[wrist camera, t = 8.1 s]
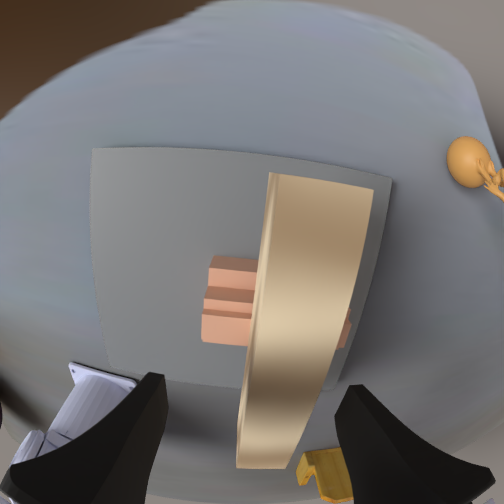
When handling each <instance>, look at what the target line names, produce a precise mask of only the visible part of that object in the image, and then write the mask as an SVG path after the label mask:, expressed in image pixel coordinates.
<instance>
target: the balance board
mask: <svg viewBox="0 0 504 504" xmlns="http://www.w3.org/2000/svg"><path fill="white" fill-rule="evenodd" d="M269 172H271V173H279V174H287V175H294V176H301V177H307V178H314V179H320V180H326V181H332V182H337V183H343V184H348V185H353V186H358V187H363V188H368V189H372V190H374V192H373V199H372V205H371V211H370V217H369V222H368V227H367V232H366V237H365V242H364V247H363V252H362V256H361V261H360V265H359V269H358V273H357V277H356V281H355V285H354V289H353V293H352V297H351V300H350V304H349V307H348V311H347V314H346V318H345V321H344V324H343V328H342V331H341V334H340V337H339V340H338V343H337V346H336V349H335V352H334V355H333V358H332V361H331V364H330V367H329V370H328V372H327V375H326V378H325V380H324V383H323V386H322V388H321V391H326V390H334V389H335V386H336V384H337V381H338V379H339V377H340V374H341V372H342V369H343V366H344V364H345V361H346V359H347V356H348V353H349V351H350V348H351V345H352V342H353V339H354V337H355V334H356V331H357V328H358V325H359V322H360V319H361V315H362V312H363V309H364V306H365V302H366V299H367V296H368V292H369V289H370V285H371V281H372V278H373V274H374V270H375V266H376V262H377V258H378V254H379V249H380V245H381V240H382V236H383V231H384V226H385V221H386V215H387V210H388V204H389V198H390V192H391V185H392V178H389V177H385V176H380V175H376V174H372V173H368V172H363V171H359V170H354V169H349V168H344V167H339V166H334V165H329V164H324V163H318V162H312V161H306V160H300V159H293V158H286V157H279V156H272V155H264V154H255V153H246V152H236V151H224V150H211V149H194V148H168V147H120V148H95V149H92V157H91V173H90V238H91V254H92V266H93V276H94V285H95V293H96V300H97V307H98V313H99V319H100V324H101V330H102V335H103V339H104V344H105V349H106V353H107V357H108V361H109V365H110V367H112V368H116V369H120V370H124V371H128V372H133V373H137V374H142V375H146V374H147V373H148V372H154V373H159V374H164V375H165V379H167V380H173V381H179V382H185V383H192V384H199V385H207V386H216V387H226V388H237V389H242V385H243V378H244V370H245V363H246V355H247V348H248V340H249V332H250V325H251V317H252V309H253V301H254V293H255V285H256V278H257V270H258V262H259V254H260V245H261V237H262V229H263V221H264V213H265V204H266V196H267V188H268V179H269Z"/></svg>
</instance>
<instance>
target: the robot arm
mask: <svg viewBox="0 0 504 504" xmlns="http://www.w3.org/2000/svg"><path fill="white" fill-rule="evenodd" d="M69 368H70V371H71V374H72V377H73V379H74V382H75V384H76V385H75V387H74V388H73V390H72V392H71V393H70V395H69V396H68V398H67V399H66V401H65V403H64V404H63V406H62V407H61V409H60V411H59V412H58V414H57V416H56V417H55V419H54V421H53V422H52V424H51V426H50V427H49V429H48V431H47V432H46V433H45V434H44V433H43V432H42V431H41V430H37V431H36V430H32V431H30V433H29V434H28V435H27V436H26V438H25V439H24V441H23V442H22V444H21V445H20V447H19V449H18V451H17V452H16V454H15V456H14V458H13V460H12V462H11V464H10V466H9V469H8V470H7V472H6V474H5V476H4V478H3V480H2V482H1V484H0V491H2V492H3V493H4V494H5V495H7V496H8V497H9V499H10V500H11V502H12V503H13V504H144V503H145V497H146V491H147V485H148V479H149V476H150V472H151V468H152V465H153V462H154V459H155V456H156V453H157V450H158V447H159V444H160V441H161V438H162V435H163V432H164V428H165V423H166V418H167V413H168V408H169V407H168V399H167V392H166V383H165V375H164V374H159V373H154V372H148V373H147V374H146V375H145V376H144V377H143V378H142V380H141V381H140V382H139V383H138V384H137V383H136V382H135V381H134V380H132V379H128V378H124V377H120V376H116V375H113V374H109V373H105V372H102V371H98V370H95V369H92V368H88V367H85V366H82V365H79V364H76V363H73V362H70V363H69ZM334 417H335V425H336V431H337V437H338V440H339V444H340V447H341V450H342V454H343V457H344V460H345V463H346V467H347V470H348V473H349V476H350V481H351V485H352V492H353V499H354V504H472V502H471V501H473V500H474V499H476V498H477V497H478V496H480V495H481V494H482V493H483V492H485V491H486V490H487V489H489V488H490V487H491V486H492V485H493V484H494V483H495V481H496V480H495V478H494V476H493V474H492V473H491V471H490V469H489V468H487V467H483V466H479V465H475V464H471V463H468V462H466V461H463V460H460V459H458V458H455V457H453V456H451V455H449V454H447V453H445V452H443V451H441V450H439V449H437V448H436V447H434V446H432V445H431V444H429V443H428V442H426V441H425V440H423V439H422V438H420V437H419V436H418V435H416V434H415V433H414V432H413V431H411V430H410V429H409V428H408V427H406V426H405V425H404V424H403V423H402V422H401V421H400V420H398V419H397V418H396V417H395V416H394V415H393V414H392V413H391V412H390V411H389V410H388V409H387V408H386V407H385V406H384V405H383V404H382V403H381V402H380V401H379V400H378V399H377V398H376V397H375V396H374V395H373V394H372V393H371V392H370V391H369V390H368V389H367V388H366V387H365V386H364V385H349V387H348V389H347V391H346V394H345V396H344V398H343V400H342V402H341V404H340V406H339V408H338V410H337V412H336V414H335V416H334ZM0 504H11V503H9V502H8V501H7V500H5V499H4V498H3V497H1V496H0ZM484 504H495V502H494V500H493V498H491V499H489V500H488V501H487V502H485V503H484Z"/></svg>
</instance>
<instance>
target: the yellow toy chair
mask: <svg viewBox="0 0 504 504" xmlns="http://www.w3.org/2000/svg"><path fill="white" fill-rule="evenodd" d="M296 475H297V479H298V483H299V485H306V483H307V482H308V480H309V478H310V477H311V475H315V479H316V482H317V486H318V489H319V493H320V497H321V499H323V500H325V501H328V502H332V503H334V504H335V503H341V502H346V501H350V500H354V499H353V492H352V485H351V481H350V476H349V473H348V470H347V467H346V463H345V460H344V457H343V454H342V450H341V447H339V448H333V449H325V450H317V451H309V452H304V453H303V455H302V458H301V460H300V463H299V465H298V467H297V470H296Z"/></svg>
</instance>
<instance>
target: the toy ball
mask: <svg viewBox="0 0 504 504" xmlns="http://www.w3.org/2000/svg"><path fill="white" fill-rule="evenodd" d="M1 424H2V407H1V402H0V428H1Z"/></svg>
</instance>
